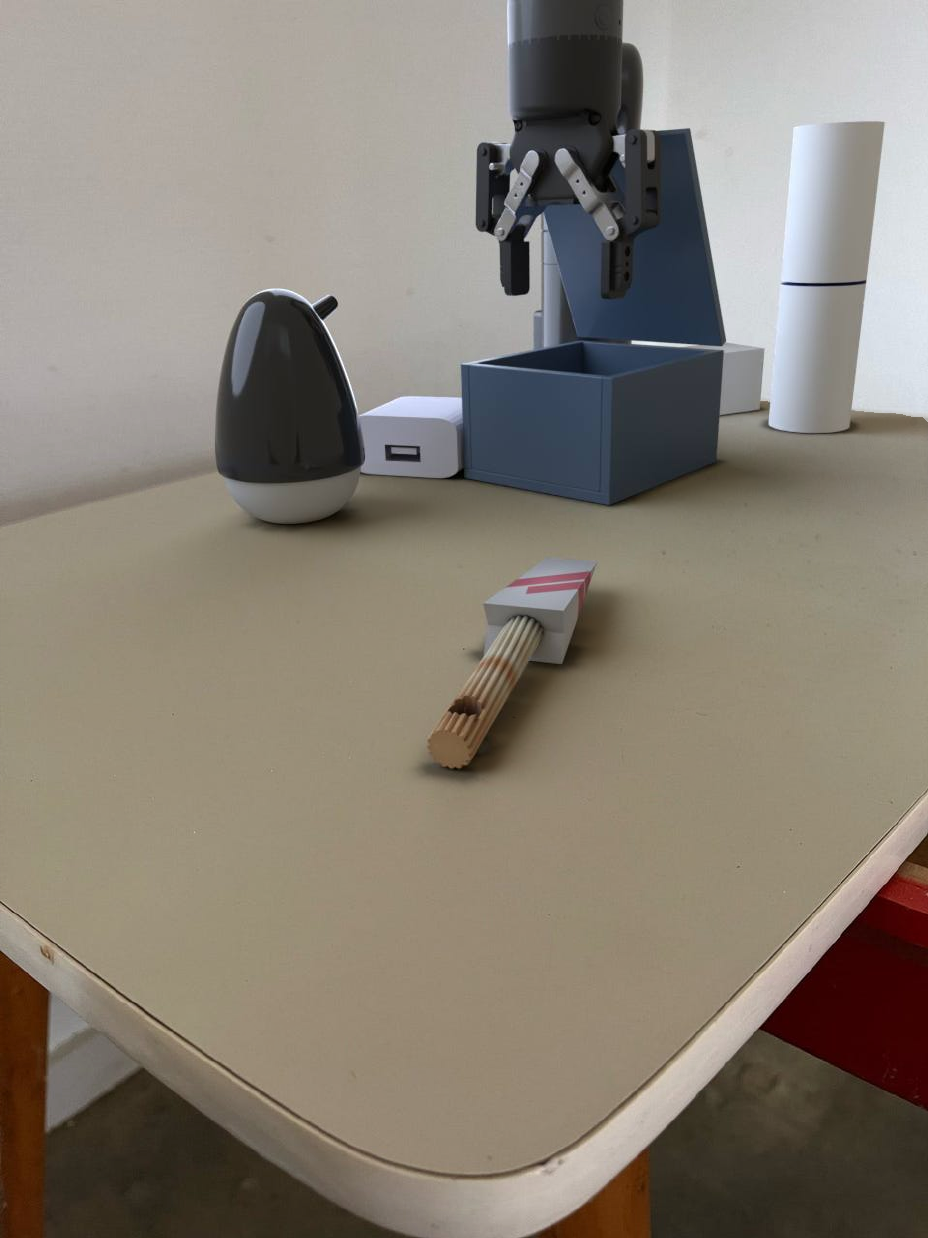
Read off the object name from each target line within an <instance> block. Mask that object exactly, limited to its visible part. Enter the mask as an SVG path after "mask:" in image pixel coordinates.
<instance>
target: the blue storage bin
mask: <svg viewBox="0 0 928 1238" xmlns="http://www.w3.org/2000/svg"><path fill="white" fill-rule="evenodd" d="M685 347H686V346H669V345H653V344H642V343H641V344H638V343H632V344H626V343H611V342H597V341H582V340H580V341H575V342H570V343H565V344H559V345H554V346H549V347H544V348H539V349H534V350H533V349H529V350H524V351H520V352H515V353H509V354H504V355H499V356H494V357H490V358H489V357H488V358H484V359H479V360H475V361H469V362H463V363H460V385H461V387H460V388H461V389H460V390H461V398H462V419H463V449H464V468H463V476H464V479H469V480H474V481H479V482H485V483H489V484H495V485H500V486H506V487H511V488H516V489H521V490H525V491H526V490H527V491H532V492H537V493H543V494H548V495H554V496H558V497H564V498H569V499H574V500H580V501H586V502H591V503H595V504H600V505H601V504H602V505H606V506H611V505H613V504H616V503H618V502H620V501H623V500H625V499H628V498H631V497H634V496H635V495H637V494H640V493H643V492H645V491H647V490H649V489H652V488H655V487H658V486H659V485H662V484H665V483H667V482H670V481H672V480H674V479H677V478H679V477H682V476H684V475H686V474H689V473H691V472H694V471H696V470H697V471H698V470H699V469H701V468H703V467H706V466H708V465H711V464H714V463H716V462H717V460H718V459H717V458H718V447H719V446H718V445H719V431H720V418H721V417H720V416H721V415H720V402H721V387H722V371H723V356H724V350H714V349H699V348H685Z"/></svg>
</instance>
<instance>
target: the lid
mask: <svg viewBox="0 0 928 1238" xmlns="http://www.w3.org/2000/svg"><path fill="white" fill-rule="evenodd" d="M657 131H658V132H659V134H660V137H661V223H660V225H659V226H658V227H656V228H652V229H649V230H647V231H644V232H642V233H640V234H639V235H637V236H636V238H635V240H634V244H633V265H632V267H633V272H632V273H633V274H632V283H631V286H630V289H627V290H626V294H625V296H624V297H623V298H618V299H603V298H602V297H601V243H602V242H607V239H606V238H605V237H604V235H603V233H602V232H601V230H600V228H599V226H598V225H597V223H596V221H595V219H594V218H593V216H592V215H590V214H588V213H587V212H586V211H585V210H584V208H583V206H582V204H574V205H547V207H546V209H545V210H544V212H543V213H544V217H545V220H546V224H547V228H548V231H549V235H550V238H551V242H552V245H553V249H554V253H555V256H556V260H557V263H558V267H559V270H560V274H561V278H562V281H563V285H564V288H565V292H566V295H567V299H568V303H569V306H570V310H571V313H572V317H573V320H574V324H575V328H576V331H577V335H578V337H586V338H601V339H616V340H632V342H646V343H647V342H649V343H665V344H676V345H677V344H678V345H679V344H680V345H691V346H695V345H707V346H723V345H724V343H725V342H726V343H727V336H726V330H725V325H724V319H723V313H722V306H721V302H720V301H721V300H720V296H719V295H720V294H719V289H718V284H717V278H716V271H715V265H714V260H713V253H712V248H711V242H710V236H709V231H708V226H707V219H706V213H705V207H704V202H703V196H702V190H701V183H700V178H699V172H698V166H697V160H696V155H695V148H694V143H693V136H692V131H691V128H690V127H686V128H685V127H684V128H676V129H661V130H659V129H658V130H657ZM624 134H627V133H624ZM624 134H619V135H624ZM611 173H612V175H613V177H614V178H615V180H616V182H617V184H618V185H619V187H620V189H621V190H622V192H623V194H624V196H625V198H626V184H625V167H623V165H622V163H621V162H620V156H619V158H618V160H617V162H616V163H615V165H614V167H613V169H612V171H611ZM625 204H626V201H625Z"/></svg>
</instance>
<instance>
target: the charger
mask: <svg viewBox="0 0 928 1238" xmlns="http://www.w3.org/2000/svg"><path fill="white" fill-rule="evenodd" d="M358 415H359V414H358ZM359 419H360V424H361V429H362V434H363V439H364V447H365V462H364V464H363V465H362V466H361V471H360V473H363V474H367V475H378V476H379V475H380V476H381V475H382V476H393V477H394V476H395V477H396V476H397V477H414V478H431V479H446V478H450V477H452V476H454V475H456V474H458V473H459V472H460V471H462V470H464V449H463V419H462V397H450V396H449V397H448V396H419V395H416V396H415V395H407V396H405V395H404V396H401V397H398V398H395V399H393V400H391V401H388V402H386V403H384V404H381V405H380V406H378V407H375V408H373V409H371V410H368V411H367V412H363V413H362V414H360V415H359Z"/></svg>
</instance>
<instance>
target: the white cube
mask: <svg viewBox="0 0 928 1238" xmlns="http://www.w3.org/2000/svg"><path fill="white" fill-rule="evenodd" d="M684 347H685V348H699V349H714V350H724V356H723V371H722V387H721V402H720V416H723V415H731V414H738V413H744V412H753V411H759V410H760V409H761V398H762V387H763V374H764V361H765V347H758V346H751V345H745V344H738V343H731V342H727V341H726V342H725V343H724V345H723V346H707V345H685V346H684Z"/></svg>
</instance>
